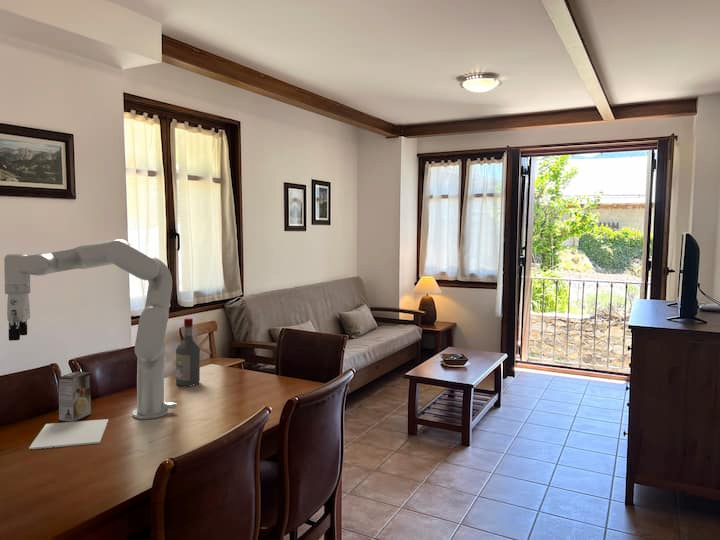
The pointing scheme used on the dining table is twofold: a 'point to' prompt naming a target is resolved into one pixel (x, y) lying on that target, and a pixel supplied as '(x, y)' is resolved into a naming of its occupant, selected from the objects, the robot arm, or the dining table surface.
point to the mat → (70, 434)
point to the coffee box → (74, 396)
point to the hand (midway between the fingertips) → (18, 337)
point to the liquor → (188, 358)
